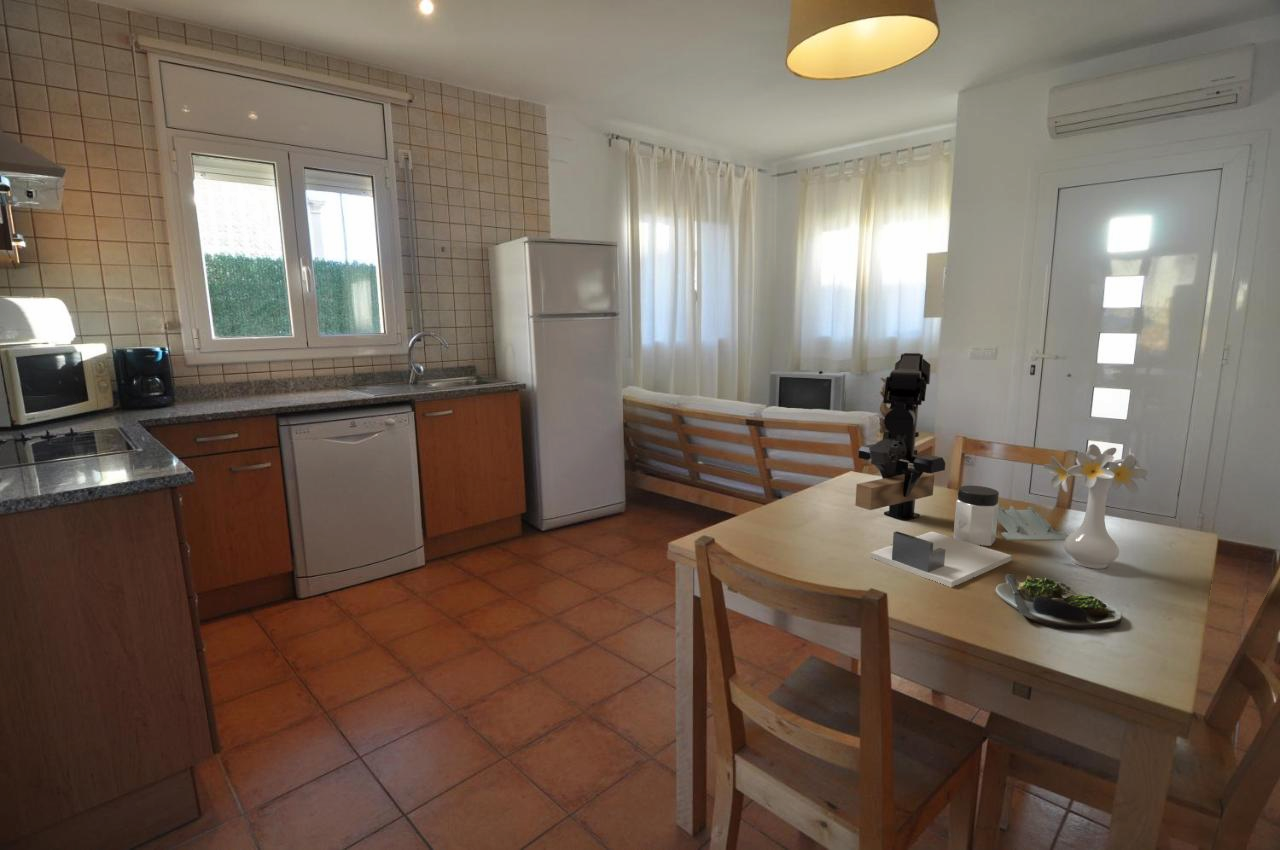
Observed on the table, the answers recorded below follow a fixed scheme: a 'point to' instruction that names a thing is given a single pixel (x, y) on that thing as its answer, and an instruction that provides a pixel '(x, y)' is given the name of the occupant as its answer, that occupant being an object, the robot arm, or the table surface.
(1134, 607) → the table surface
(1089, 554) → the flower vase
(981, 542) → the jar
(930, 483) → the walnut rail
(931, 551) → the bracket
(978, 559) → the mounting board
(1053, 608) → the salad plate
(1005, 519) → the pale green slanted stand
